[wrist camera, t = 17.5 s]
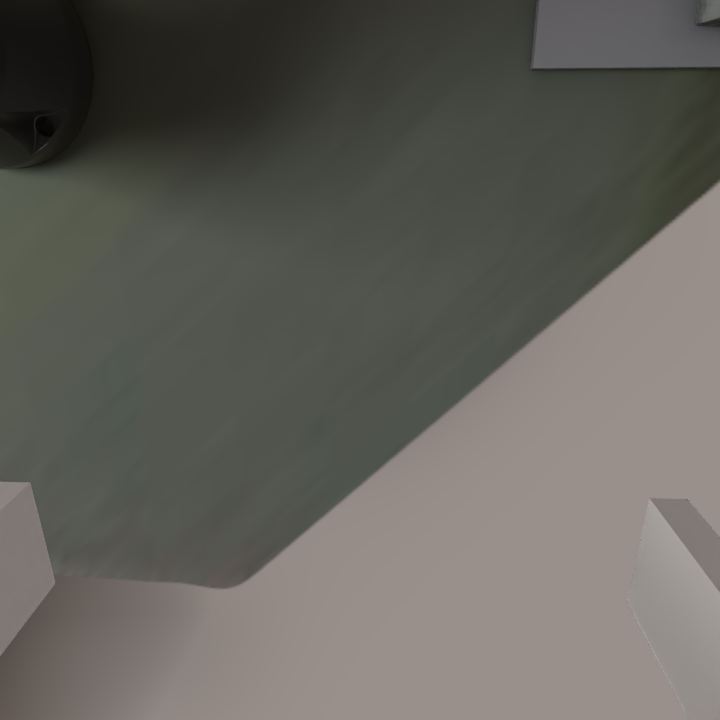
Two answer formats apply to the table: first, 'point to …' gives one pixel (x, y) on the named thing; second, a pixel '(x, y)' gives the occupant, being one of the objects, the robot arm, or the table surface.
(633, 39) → the slate pad
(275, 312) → the table surface
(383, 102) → the table surface
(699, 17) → the stone block
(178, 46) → the table surface
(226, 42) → the table surface
